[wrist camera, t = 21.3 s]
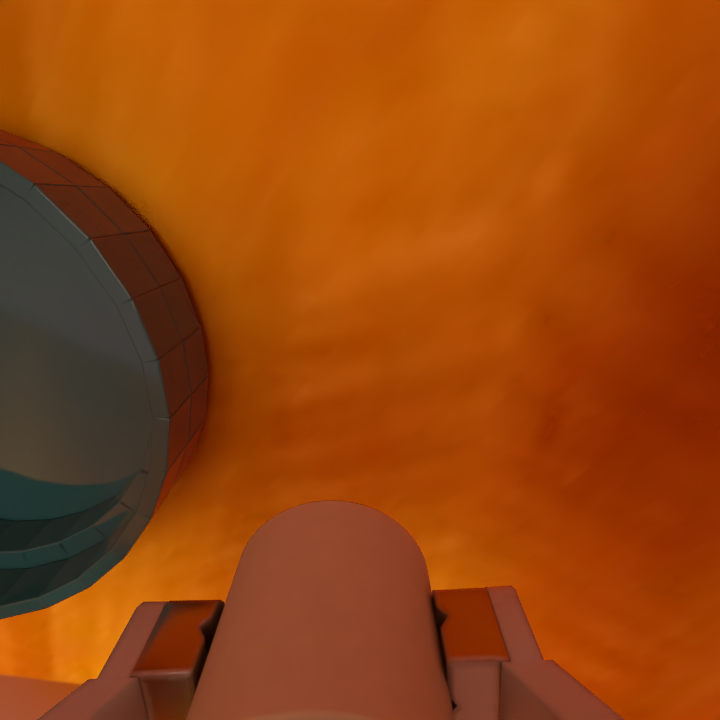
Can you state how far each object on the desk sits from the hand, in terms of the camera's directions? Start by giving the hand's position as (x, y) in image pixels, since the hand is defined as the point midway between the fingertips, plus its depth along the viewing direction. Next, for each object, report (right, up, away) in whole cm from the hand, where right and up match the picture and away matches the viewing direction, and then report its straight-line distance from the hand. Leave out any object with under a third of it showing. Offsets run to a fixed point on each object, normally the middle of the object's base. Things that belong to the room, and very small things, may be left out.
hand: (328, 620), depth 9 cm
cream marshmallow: (0, 0, +1) cm, 1 cm away
